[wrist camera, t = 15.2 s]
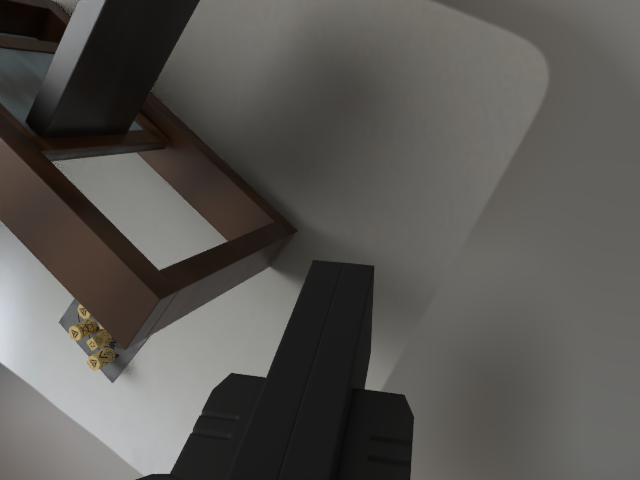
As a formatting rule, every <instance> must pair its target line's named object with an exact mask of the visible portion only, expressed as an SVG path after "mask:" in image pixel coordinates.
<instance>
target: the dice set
mask: <svg viewBox="0 0 640 480" xmlns="http://www.w3.org/2000/svg"><path fill="white" fill-rule="evenodd" d="M76 310H77V313H78V315H79V316H80V317H81V318H82V319H83V320H82V321H80V322H78V323H76V324H74V325H72V326H69V327H68V333H69V334H70V337H71V338H72V339H73V340H75V341H76V342H77V341H80V340H82V339H84V338H86V337H88V336H90V335H92V334H94V333H95V332H96V331H97V330H96V329H97V326H96V324H95V321H94V320H92V319H90V318H92V317H93V316H92V315H91V314H90V313H89V312H88V311H87V310H86V309H85V308H84V307H83V306H82V305H81V304H79V305H78V306H77V309H76ZM100 329H101V331H99V332H98V333H97V334H96V335H94V336H92V337H91V338H89V339H88V340H87V341H86V344H87V346H88V347H89V349H90V350H91V351H92V352H93V351H95V350H96V349H98V348H100V347H102V349H101V350H99V351H97V352H95V353H93V354H91V355H90V356H89V357H88V364H89V367H90V368H91V369H93V370H98V369H102V368H103V367H105V366H107V365H108V364H110V363H112V362H113V361H114V360H115V354H114V352H113V350H112V349H111V348H109V347H108V346H107V345H109V344H110V342H111V340H112V338H113V337H112V336H111V335H110V334H109V333H108V332H107V331H106V330H105V329H104V328H103V327H101V328H100Z"/></svg>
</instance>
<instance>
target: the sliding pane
mask: <svg viewBox="0 0 640 480" xmlns="http://www.w3.org/2000/svg"><path fill="white" fill-rule="evenodd" d="M199 1H200V0H78V3H77V5H76V7H75V9H74V12H73V14H72V16H71V18H70V21H69V23H68V25H67V27H66V30H65V32H64V34H63V37H62V39H61V41H60V43H55V42H47V41H40V40H33V39H25V38H18V37H11V36H3V35H0V111H1V112H2V113H3V114H4V115H5V116H6V117H7V118H8V119H9V120H10V121H11V122H12V123H13V124H14V125H15V126H16V127H17V128H18V129H19V130H20V131H21V132H22V133H23V134H24V135H25V136H26V137H27V138H28V139H29V140H30V141H31V142H32V143H33V144H34V145H35V146H36V147H37V148H38V149H39V150H40V151H41V152H42V153H43V154H44V155H45V156H46V157H47V158H48V159H49V160H50V161H59V160H69V159H78V158H87V157H97V156H106V155H116V154H125V153H134V152H144V151H153V150H163V149H165V148H166V147H167V145H168V143H169V141H170V140H169V139H168V138H167V137H166V136H165V135H164V134H162V133H161V132H160V131H159V130H158V129H157V128H156V127H155V126H154V125H153V124H152V123H151V122H150V121H149V120H148V119H147V118H146V117H145V116H144V115H143V114H141V113H140V112H139V111H140V109H141V107H142V105H143V103H144V101H145V100H146V98H147V96H148V94H149V92H150V90H151V89H152V87H153V85H154V83H155V81H156V80H157V78H158V76H159V74H160V72H161V70H162V69H163V67H164V65H165V63H166V61H167V59H168V58H169V56H170V54H171V52H172V50H173V48H174V47H175V45H176V43H177V41H178V39H179V37H180V36H181V34H182V32H183V30H184V28H185V27H186V25H187V23H188V21H189V19H190V17H191V16H192V14H193V12H194V10H195V8H196V6H197V5H198V3H199Z"/></svg>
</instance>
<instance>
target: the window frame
mask: <svg viewBox="0 0 640 480" xmlns="http://www.w3.org/2000/svg"><path fill="white" fill-rule="evenodd" d="M70 18H71V17H70V16H69V15H68V14H67V13H66V12H65V11H64V10H63V9H61V8H60V7H59V6H58V5H57V4H56V3H55V2H54V1H52V0H0V35H3V36H11V37H18V38H25V39H33V40H40V41H47V42H55V43H60V41H61V39H62V37H63V34H64V32H65V30H66V27H67V25H68V23H69V21H70ZM139 112H140V113H141V114H143V115H144V116H145V117H146V118H147V119H148V120H149V121H150V122H151V123H152V124H153V125H154V126H155V127H156V128H157V129H158V130H159V131H160V132H161V133H162V134H164V135H165V136H166V137H167V138H168V139H169V140H170V141H169V143H168V145H167V147H166V148H165V149H163V150H153V151H144V152H137V153H138V154H139V155H140V156H141V157H142V158H143V159H144V160H145V161H146V162H147V163H148V164H149V165H150V166H151V167H152V168H153V169H154V170H155V171H156V172H157V173H158V174H159V175H160V176H161V177H162V178H164V179H165V180H166V181H167V182H168V183H169V184H170V185H171V186H172V187H173V188H174V189H175V190H176V191H177V192H178V193H179V194H180V195H181V196H182V197H183V198H184V199H185V200H186V201H187V202H188V203H189V204H190V205H191V206H192V207H193V208H194V209H195V210H197V211H198V212H199V213H200V214H201V215H202V216H203V217H204V218H205V219H206V220H207V221H208V222H209V223H210V224H211V225H212V226H213V227H214V228H215V229H216V230H217V231H218V232H219V233H220V234H221V235H222V236H223V237H224V238H225V239H226V240H227V241H228V242H226V243H223V244H221V245H219V246H216V247H214V248H211V249H209V250H207V251H204V252H202V253H200V254H197V255H195V256H192V257H190V258H188V259H185V260H183V261H181V262H178V263H176V264H173V265H171V266H169V267H166V268H164V269H162V270H160V271H159V270H158V269H157V268H156V267H155V266H154V265H153V264H152V263H151V262H150V261H149V260H148V259H147V258H146V257H145V256H144V255H143V254H142V253H141V252H140V251H139V250H138V249H137V248H136V247H135V246H134V245H133V244H132V243H131V242H130V241H129V240H128V239H127V238H126V237H125V236H124V235H123V234H122V233H121V232H120V231H119V230H118V229H117V228H116V227H115V226H114V225H113V224H112V223H111V222H110V221H109V220H108V219H107V218H106V217H105V216H104V215H103V214H102V213H101V212H100V211H99V210H98V209H97V208H96V207H95V206H94V205H93V204H92V203H91V202H90V201H89V200H88V199H87V198H86V197H85V196H84V195H83V194H82V193H81V192H80V191H79V190H78V189H77V188H76V187H75V186H74V185H73V184H72V183H71V182H70V181H69V180H68V179H67V178H66V177H65V176H64V175H63V174H62V173H61V172H60V171H59V170H58V169H57V168H56V167H55V166H54V165H53V163H52V162H51V161H50V160H49V159H48V158H47V157H46V156H45V155H44V154H43V153H42V152H41V151H40V150H39V149H38V148H37V147H36V146H35V145H34V144H33V143H32V142H31V141H30V140H29V139H28V138H27V137H26V136H25V135H24V134H23V133H22V132H21V131H20V130H19V129H18V128H17V127H16V126H15V125H14V124H13V123H12V122H11V121H10V120H9V119H8V118H7V117H6V116H5V115H4V114H3V113H2V112H1V111H0V220H1V221H2V222H3V223H4V224H5V225H6V226H7V227H8V228H9V229H10V231H11V232H12V233H13V234H14V235H15V236H16V237H17V238H18V239H19V240H20V241H21V242H22V243H23V244H24V245H25V246H26V247H27V248H28V249H29V250H30V252H31V253H32V254H33V255H34V256H35V257H36V258H37V259H38V260H39V261H40V262H41V263H42V264H43V265H44V266H45V267H46V268H47V269H48V270H49V271H50V272H51V274H52V275H53V276H54V277H55V278H56V279H57V280H58V281H59V282H60V283H61V284H62V285H63V286H64V287H65V288H66V289H67V290H68V291H69V292H70V293H71V294H72V296H73V297H74V298H75V299H76V300H77V301H78V302H79V303H80V304H81V305H82V306H83V307H84V308H85V309H86V310H87V311H88V312H89V313H90V314H91V315H92V316H93V318H94V319H95V320H96V321H97V322H98V323H99V324H100V325H101V326H102V327H103V328H104V329H105V330H106V331H107V332H108V333H109V334H110V335H111V336H112V337H113V339H114V340H115V341H116V342H117V343H118V344H119V345H120V346H121V347H122V348H123V349H124V350H126V349H128V348H130V347H132V346H133V345H135V344H137V343H138V342H140V341H142V340H144V339H145V338H147V337H149V336H150V335H152V334H154V333H156V332H157V331H159V330H161V329H163V328H164V327H166V326H168V325H170V324H171V323H173V322H175V321H176V320H178V319H180V318H182V317H183V316H185V315H187V314H189V313H190V312H192V311H194V310H195V309H197V308H199V307H201V306H202V305H204V304H206V303H208V302H209V301H211V300H213V299H215V298H216V297H218V296H220V295H221V294H223V293H225V292H227V291H228V290H230V289H232V288H234V287H235V286H237V285H239V284H240V283H242V282H244V281H246V280H247V279H249V278H251V277H253V276H254V275H256V274H258V273H260V272H262V271H263V270H265V269H267V268H268V267H270V266H271V264H272V263H273V262H274V261H275V259H276V258H277V257H278V255H279V254H280V253H281V252H282V250H283V249H284V248H285V247H286V245H287V244H288V243H289V242H290V240H291V239H292V238H293V237H294V235H295V234H296V233H297V230H296V229H295V228H294V227H293V226H292V225H291V224H290V223H289V222H288V221H287V220H286V219H285V218H283V217H282V216H281V215H280V214H279V213H278V212H277V211H276V210H275V209H274V208H273V207H272V206H271V205H270V204H269V203H268V202H266V201H265V200H264V199H263V198H262V197H261V196H260V195H259V194H258V193H257V192H256V191H255V190H254V189H253V188H252V187H251V186H249V185H248V184H247V183H246V182H245V181H244V180H243V179H242V178H241V177H240V176H239V175H238V174H237V173H236V172H235V171H234V170H232V169H231V168H230V167H229V166H228V165H227V164H226V163H225V162H224V161H223V160H222V159H221V158H220V157H219V156H218V155H217V154H215V153H214V152H213V151H212V150H211V149H210V148H209V147H208V146H207V145H206V144H205V143H204V142H203V141H202V140H201V139H200V138H198V137H197V136H196V135H195V134H194V133H193V132H192V131H191V130H190V129H189V128H188V127H187V126H186V125H185V124H184V123H183V122H181V121H180V120H179V119H178V118H177V117H176V116H175V115H174V114H173V113H172V112H171V111H170V110H169V109H168V108H167V107H166V106H164V105H163V104H162V103H161V102H160V101H159V100H158V99H157V98H156V97H155V96H154V95H153V94H152V93H151V92H149V94H148V96H147V98H146V100H145V101H144V103H143V105H142V107H141V109H140V111H139Z"/></svg>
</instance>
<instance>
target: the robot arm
mask: <svg viewBox="0 0 640 480" xmlns="http://www.w3.org/2000/svg"><path fill="white" fill-rule="evenodd" d="M373 284H374V266H372V265H361V264H351V263H340V262H329V261H318V260H313V262H312V264H311V267H310V269H309V272H308V274H307V277H306V279H305V282H304V284H303V287H302V289H301V292H300V294H299V297H298V299H297V302H296V304H295V307H294V309H293V312H292V314H291V317H290V319H289V322H288V324H287V327H286V329H285V332H284V335H283V337H282V340H281V342H280V345H279V347H278V350H277V352H276V355H275V357H274V360H273V362H272V365H271V367H270V370H269V372H268V375H267V377H266V378H265V377H257V376H250V375H242V374H235V373H231V374H230V375H229V376H228V377H226V378H225V379H224V380H223V381H222V382H221V383H220V384H219V385H218V386H216V387H215V388H214V389H213V390H212V392H211V394H210V396H209V398H208V400H207V402H206V404H205V406H204V408H203V410H202V414H201V416H199V418H198V420H197V422H196V424H195V426H194V428H193V432H192V434H190V436H189V438H188V440H187V442H186V443H185V445H184V447H183V449H182V451H181V453H180V455H179V457H178V459H177V461H176V463H175V465H174V467H173V469H172V471H171V473H170V474H151V475H148V476H145V477H142V478H139V479H136V480H410V474H411V456H412V440H413V423H414V416H413V414H412V411H411V409H410V407H409V405H408V402H407V400H406V398H405V395H402V394H394V393H387V392H379V391H372V390H365V389H364V388H365V382H366V377H367V371H368V365H369V359H370V354H371V333H372V309H373Z"/></svg>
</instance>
